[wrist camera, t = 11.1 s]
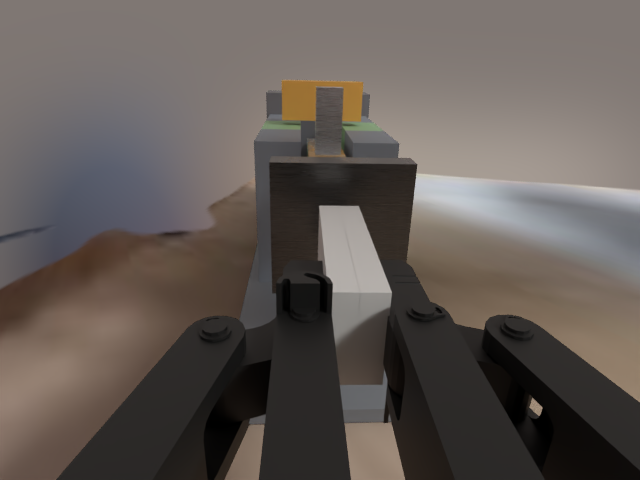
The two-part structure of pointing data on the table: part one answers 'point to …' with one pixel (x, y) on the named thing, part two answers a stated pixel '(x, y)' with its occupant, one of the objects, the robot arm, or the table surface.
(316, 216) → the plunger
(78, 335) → the table surface
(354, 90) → the orange rectangular plank
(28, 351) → the table surface
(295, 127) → the grey stepped block
